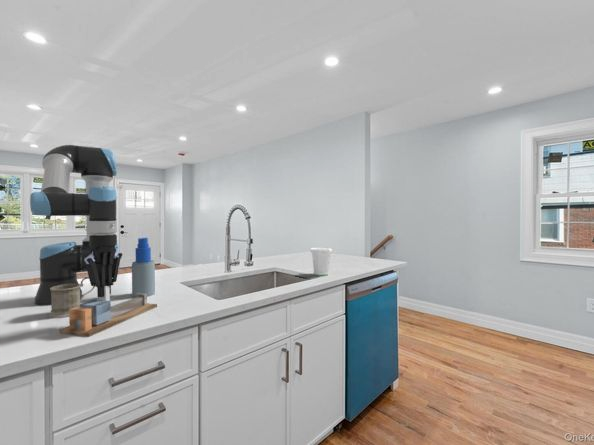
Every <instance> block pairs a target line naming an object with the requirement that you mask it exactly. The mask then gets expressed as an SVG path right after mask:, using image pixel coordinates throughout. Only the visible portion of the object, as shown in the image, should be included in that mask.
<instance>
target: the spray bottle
mask: <svg viewBox="0 0 594 445" xmlns="http://www.w3.org/2000/svg"><path fill="white" fill-rule="evenodd" d="M137 242H138V243H137V246H136V247H135V250H134V251H135V261H133V262H132V263H131V293H132V294H131V296H132V297H133V298H136V297H137V294H138V293H143V294H147V298H148V297H151V296H155V294H156V279H155V278H156V271H155V270H156V268H155V267H156V263H155V260H152V255H151V254H152V249H151V248H152V247H151V246H150V245H149V239H148V237H138V240H137Z"/></svg>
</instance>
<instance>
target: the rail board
mask: <svg viewBox="0 0 594 445" xmlns="http://www.w3.org/2000/svg"><path fill="white" fill-rule="evenodd" d="M157 307H158V304H157V303H150V302H149V303H148V297H147V294H143V293H138V294H137V297H133V298H131V299H127V300H125V301H122V302H120V303H116V304H114V305H112V306H111V320H108V321H106V322H104V323H101V324H99V325H93V321H92V314H91V309H90V308H80V307H74V308H71V309H69V317H68V319H69V322H68V323H69V325H68V326H64V327H62V328H59V333H60V334H66V335H73V336H74V335H76V336H81V337H82V336H83V337H91V336H93V335H96V334H98V333H100V332H102V331H105V330H106V329H110V328H112V327H114V326H117V325H119V324H121V323H123V322H125V321H128V320H130V319H132V318H135V317H137V316H139V315H141V314H144V313H146V312H148V311H150V310H153V309H155V308H157Z"/></svg>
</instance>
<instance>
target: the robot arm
mask: <svg viewBox="0 0 594 445" xmlns="http://www.w3.org/2000/svg"><path fill="white" fill-rule="evenodd" d="M116 163H117V162H116V158H115V154H114V152H113V151H112V150H111V149H107V148H102V147H96V146H85V145H84V146H83V145H76V144H75V145H74V144H65V145H61V146H60V145H59V146H56V147H55V148H52V149H50V150H49V151H47V152H46V153H45V154H44V156H43V159H42V162H41V165H42V167H43V169H44V171H43V177H42V183H41V188H40V191H35V192H31V193H30V195H29V196H30V198H29V206H30V211H31V212H30V213H31V215H33V216H44V217H45V216H46V217H51V216H52V217H56V216H58V217H59V216H60V217H61V216H64V217H65V216H67V217H68V216H70V217H71V216H72V217H73V216H79V217H80V216H83V217H85V218H86V219H85V220H86V221H85V222H86V223H85V224H86V226H85V227H86V236H85V238H84V239H82V244H77V243H76V241H69V242H68V241H67V242H61V243H60V242H58V243H54V244H48V245H45V246H42V247H41V248H40V251H39V274H40V275H39V276H40V279H39V280H40V282H39V286H38V287H37V291H36V294H35V296H34V304H36V305H41V306H44V305H45V306H47V305H51V290H50V288H51V287H54V286H58V285H64V284H80V283H79V281H78V279H77V278H78V277H77V274H78V273H87V276H89V283H90V286H91V287H93V286H95V288H97V290H96V291H97V297H98V300H103V301H110V302H111V296H110V295H111V294H112V286H114V284H115V283H116V282H117V279H118V274H119V268H120V263H121V259H122V257H123V252H119V243H118V235H117V234H116V233H117V232H118V231H117V230H118V229H117V225H118V224H117V199H118V198H117V197H118V196H117V191H116V188H115V187H113V186H110V183H111V182H112V181H113V179H114V177H115V176H116V177H117V171H118V170H117V164H116ZM72 173H75V174H80V178H81V179H82V180H83V181H84V182H85V193H73V192H72V193H71V192H70V185H71V182H70V180H71V174H72ZM81 288H82V287H80V297H81V296H82V295H83V290H82V289H81Z"/></svg>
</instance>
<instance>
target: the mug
mask: <svg viewBox="0 0 594 445" xmlns="http://www.w3.org/2000/svg"><path fill="white" fill-rule="evenodd" d="M88 279H89V276H88V275H86V276H84V277H83V278H82V280H81V281H80V283H79V284H64V285H58V286H54V287H51V288H50V290H51V304H50V305H51V311H50V313H49V314H48V316H47V317H48V318H49V319H64V318H69V309H71V308H74V307H80V304H81V301H82V300H83V298H84V296H86V295H87V294H89V293H91V292H92V291H93V290H94V289H95V288H96V287H95V286H92V288H91V289H90V290H89V291H86V292H85V293H82V296H81V297H80V288H83V287H84V281H85V280H88Z"/></svg>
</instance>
